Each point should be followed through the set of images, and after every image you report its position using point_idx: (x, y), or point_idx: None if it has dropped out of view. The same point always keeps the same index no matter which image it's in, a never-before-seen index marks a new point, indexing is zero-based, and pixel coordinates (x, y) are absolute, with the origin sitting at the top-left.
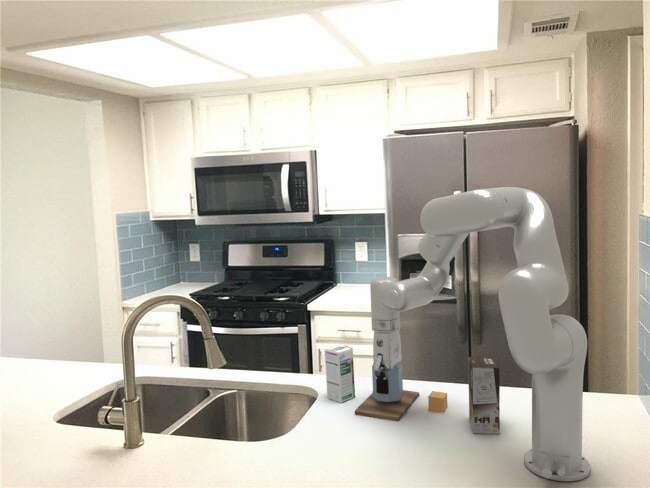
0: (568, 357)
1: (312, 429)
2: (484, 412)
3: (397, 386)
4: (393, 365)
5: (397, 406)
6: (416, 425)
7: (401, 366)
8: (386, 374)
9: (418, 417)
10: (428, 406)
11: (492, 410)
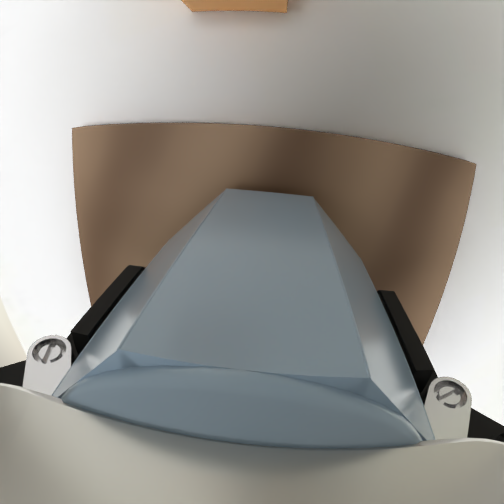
0: None
1: (491, 412)
2: None
3: (335, 246)
4: (446, 479)
5: (333, 196)
6: (482, 69)
7: (157, 342)
8: (446, 420)
9: (396, 58)
10: (286, 3)
11: None
